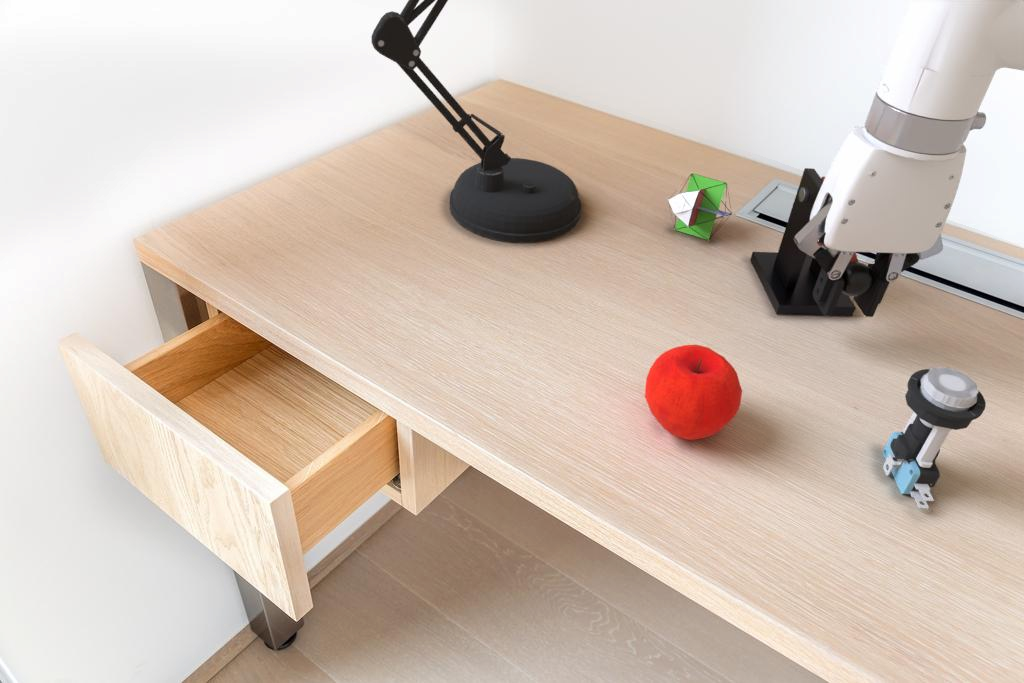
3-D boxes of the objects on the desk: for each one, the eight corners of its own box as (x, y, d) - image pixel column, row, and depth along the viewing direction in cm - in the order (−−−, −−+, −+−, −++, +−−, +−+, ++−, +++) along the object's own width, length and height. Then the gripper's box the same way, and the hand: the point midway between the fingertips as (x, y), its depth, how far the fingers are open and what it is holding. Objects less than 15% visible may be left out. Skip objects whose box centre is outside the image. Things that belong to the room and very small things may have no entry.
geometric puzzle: (684, 188, 97) (681, 154, 89) (739, 204, 94) (741, 170, 87) (662, 239, 95) (657, 209, 88) (717, 257, 93) (717, 227, 86)
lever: (867, 303, 74) (884, 284, 71) (834, 302, 74) (849, 283, 71) (836, 196, 80) (850, 174, 78) (806, 195, 80) (818, 173, 77)
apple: (628, 392, 70) (642, 326, 66) (715, 391, 71) (735, 326, 67) (646, 459, 64) (663, 392, 60) (741, 458, 65) (765, 391, 60)
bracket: (852, 316, 82) (898, 206, 74) (776, 314, 81) (813, 203, 73) (819, 262, 89) (857, 157, 81) (749, 260, 89) (781, 154, 81)
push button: (954, 515, 62) (1013, 423, 55) (886, 510, 62) (937, 418, 55) (922, 452, 67) (972, 361, 61) (859, 448, 67) (903, 357, 60)
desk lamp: (648, 185, 101) (731, -255, 73) (586, 290, 82) (667, -251, 54) (473, 144, 107) (487, -277, 79) (378, 233, 88) (352, -280, 60)
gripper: (990, 109, 67) (908, 287, 79) (802, 100, 66) (746, 282, 78) (1040, 148, 62) (943, 334, 73) (834, 139, 60) (769, 330, 72)
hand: (842, 306), depth 75 cm, fingers closed on lever, 3 cm apart
